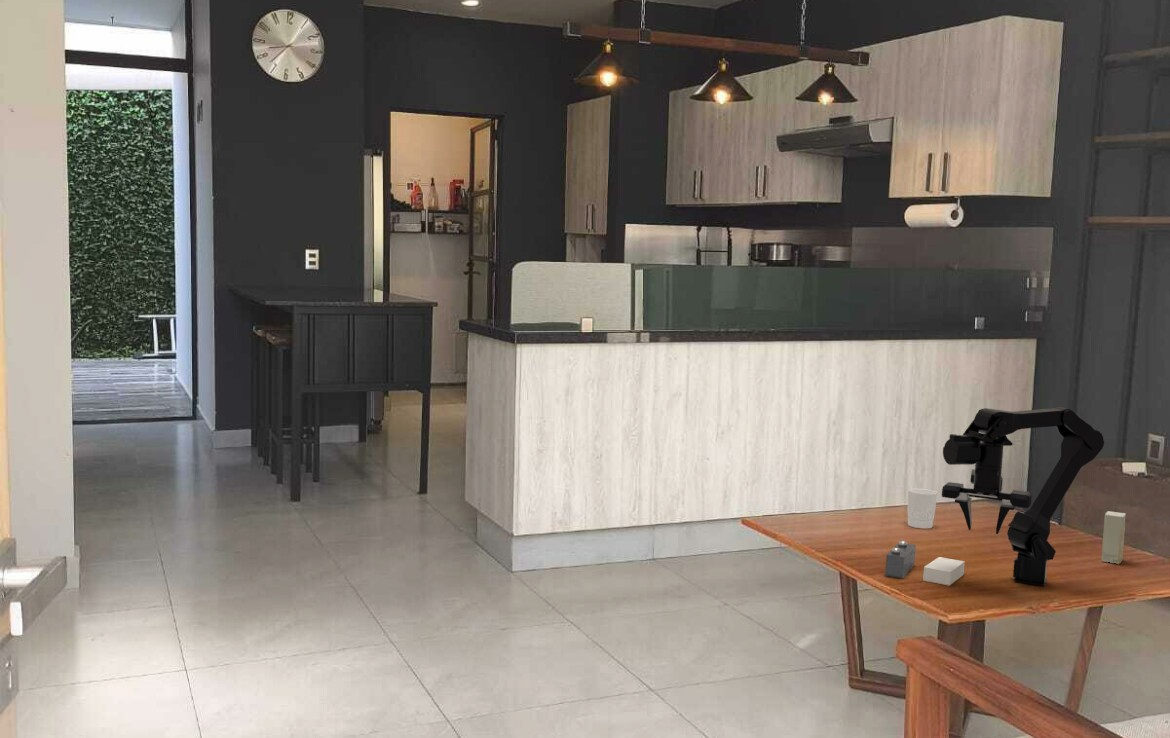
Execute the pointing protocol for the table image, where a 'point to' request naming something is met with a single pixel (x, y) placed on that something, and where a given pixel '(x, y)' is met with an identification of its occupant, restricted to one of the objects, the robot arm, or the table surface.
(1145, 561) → the table surface
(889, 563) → the stop bar
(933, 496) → the white cup
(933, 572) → the white rectangular block
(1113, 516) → the skincare box
